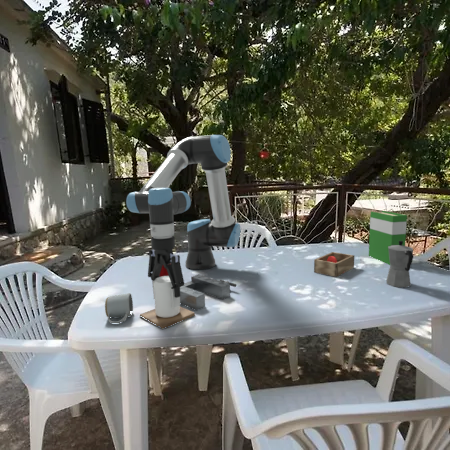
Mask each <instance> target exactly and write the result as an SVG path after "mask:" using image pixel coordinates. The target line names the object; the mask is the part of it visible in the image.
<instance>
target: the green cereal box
mask: <svg viewBox="0 0 450 450" xmlns="http://www.w3.org/2000/svg"><path fill="white" fill-rule="evenodd" d="M407 219H408V215H407V214H401V213H396V212H390V211H386V210H382V211H380V212H376V211H370V217H369V221H370V222H369V242H368V257H370V256H371V257H370V258H372V257H373V258H372V259H374V260H377V259H378V261H379V260H380V261H379V262H382V263H384V264H387V265H389V266H390V260H389V250H388V246H391V245H399V241H403V244H402V245H403V246H406V239H407V238H406V235H407V222H408V220H407Z"/></svg>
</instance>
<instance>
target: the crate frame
mask: <svg viewBox="0 0 450 450" xmlns="http://www.w3.org/2000/svg"><path fill="white" fill-rule="evenodd" d="M329 256H334V257H335V258H336V260H337V263H333V262H328V261H327V259H328V257H329ZM313 261H314V262H313V265H314V266H313V272H314V273H317V274H321V275H326V276H331V277H335V278H338V277H339V276H342V275H344V274H345V273H346V272H348V271H350V270H353V269H354V268H355V255H354V254H350V253H349V254H348V253H342V252H335V251H331V252H328V253H325V255H321V256H319V257H317V258H315V259H314V260H313ZM343 272H344V274H343Z"/></svg>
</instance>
